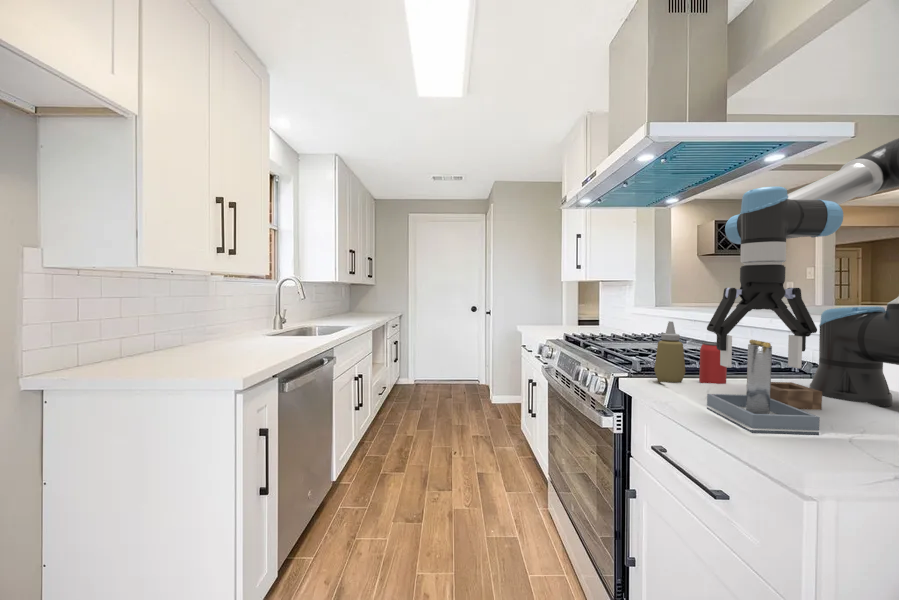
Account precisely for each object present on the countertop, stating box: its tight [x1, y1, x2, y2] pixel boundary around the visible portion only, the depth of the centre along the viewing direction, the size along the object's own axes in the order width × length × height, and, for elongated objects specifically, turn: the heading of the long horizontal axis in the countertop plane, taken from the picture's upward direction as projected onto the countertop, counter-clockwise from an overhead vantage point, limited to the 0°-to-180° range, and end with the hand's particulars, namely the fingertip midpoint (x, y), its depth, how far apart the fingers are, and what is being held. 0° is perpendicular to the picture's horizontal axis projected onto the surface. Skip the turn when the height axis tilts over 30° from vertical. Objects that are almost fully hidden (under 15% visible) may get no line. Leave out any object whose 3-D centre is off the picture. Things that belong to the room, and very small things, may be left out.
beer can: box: [698, 341, 728, 385], centre depth 120 cm, size 7×7×12 cm
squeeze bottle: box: [653, 321, 686, 384], centre depth 121 cm, size 8×8×18 cm
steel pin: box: [745, 339, 773, 414], centre depth 87 cm, size 4×6×16 cm
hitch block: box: [770, 381, 823, 411], centre depth 97 cm, size 9×9×5 cm
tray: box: [706, 393, 821, 436], centre depth 87 cm, size 12×16×4 cm
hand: (759, 366), depth 87 cm, fingers open, 13 cm apart
